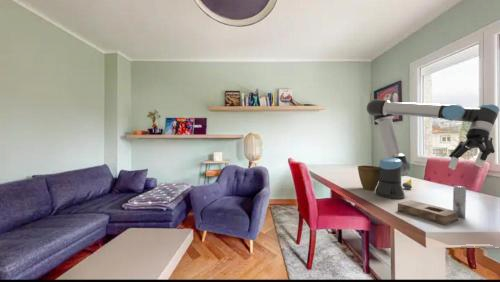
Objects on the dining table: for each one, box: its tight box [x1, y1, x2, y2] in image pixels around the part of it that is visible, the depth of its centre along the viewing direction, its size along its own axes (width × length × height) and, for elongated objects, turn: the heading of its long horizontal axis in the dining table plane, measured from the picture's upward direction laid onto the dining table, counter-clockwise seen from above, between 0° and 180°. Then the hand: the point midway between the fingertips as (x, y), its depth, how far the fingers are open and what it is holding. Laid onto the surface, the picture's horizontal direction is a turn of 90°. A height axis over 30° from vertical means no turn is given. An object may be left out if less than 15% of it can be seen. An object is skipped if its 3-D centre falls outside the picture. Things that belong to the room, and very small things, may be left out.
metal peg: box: [452, 185, 467, 219], centre depth 93 cm, size 4×4×14 cm
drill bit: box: [402, 178, 413, 191], centre depth 143 cm, size 5×5×10 cm
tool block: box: [397, 199, 459, 226], centre depth 93 cm, size 18×12×4 cm, turn 25°
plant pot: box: [357, 164, 379, 191], centre depth 141 cm, size 15×15×16 cm
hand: (463, 167), depth 98 cm, fingers open, 13 cm apart
